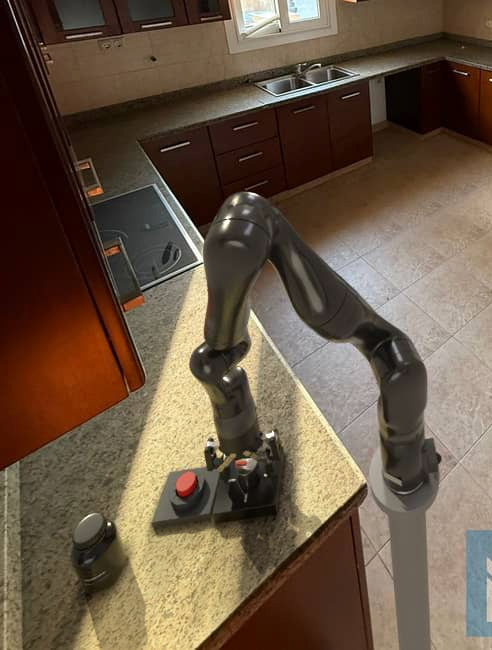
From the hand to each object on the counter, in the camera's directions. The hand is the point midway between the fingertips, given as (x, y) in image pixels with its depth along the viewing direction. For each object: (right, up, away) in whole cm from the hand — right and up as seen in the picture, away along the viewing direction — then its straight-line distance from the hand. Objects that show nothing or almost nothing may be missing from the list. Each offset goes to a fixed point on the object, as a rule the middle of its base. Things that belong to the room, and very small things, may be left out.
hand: (249, 474), depth 88 cm
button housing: (-12, -5, 0) cm, 13 cm away
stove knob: (0, -1, 0) cm, 1 cm away
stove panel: (0, -4, +1) cm, 4 cm away
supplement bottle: (-22, -9, -10) cm, 26 cm away
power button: (-12, -2, -1) cm, 13 cm away
